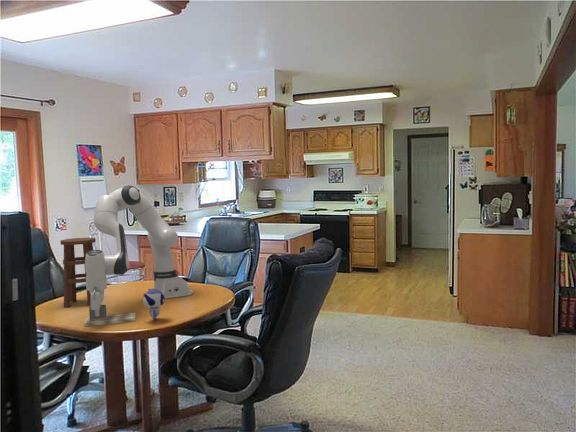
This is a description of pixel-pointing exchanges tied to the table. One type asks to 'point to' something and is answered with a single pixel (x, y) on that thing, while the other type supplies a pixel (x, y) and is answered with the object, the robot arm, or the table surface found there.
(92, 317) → the block
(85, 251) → the stool
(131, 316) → the board
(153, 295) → the toy
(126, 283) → the table surface
